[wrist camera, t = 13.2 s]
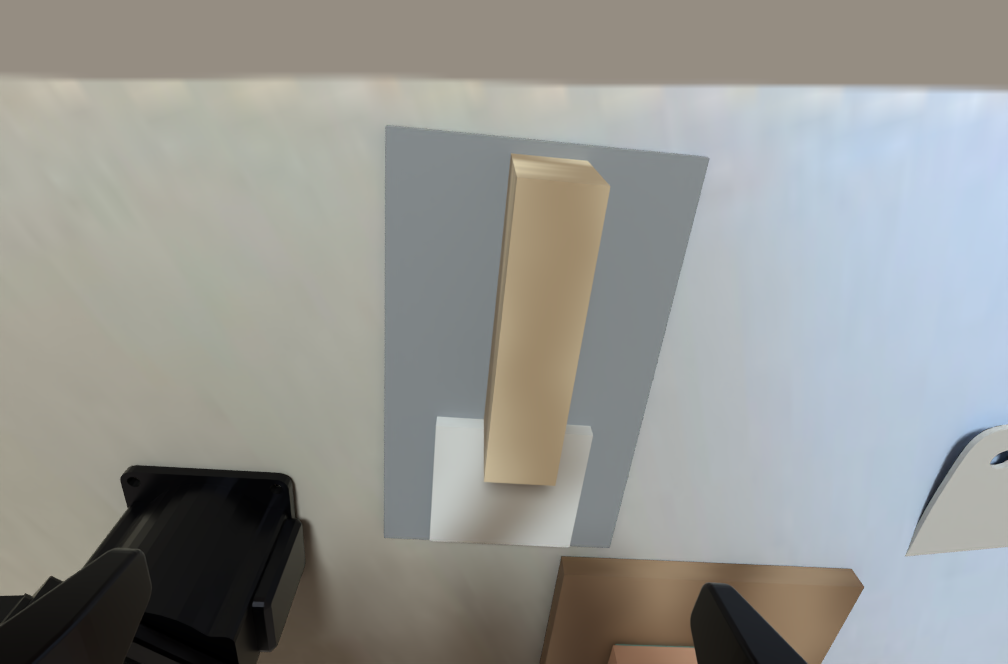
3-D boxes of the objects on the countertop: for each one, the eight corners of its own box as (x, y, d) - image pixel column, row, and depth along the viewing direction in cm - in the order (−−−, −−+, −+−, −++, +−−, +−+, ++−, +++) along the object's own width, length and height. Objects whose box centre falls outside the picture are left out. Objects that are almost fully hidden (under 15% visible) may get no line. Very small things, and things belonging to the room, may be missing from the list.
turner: (430, 530, 24) (422, 601, 21) (452, 147, 17) (445, 170, 14) (567, 536, 25) (579, 607, 22) (644, 166, 18) (679, 192, 15)
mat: (385, 532, 25) (383, 537, 25) (387, 125, 17) (385, 126, 17) (608, 542, 26) (609, 547, 25) (706, 156, 18) (709, 158, 18)
